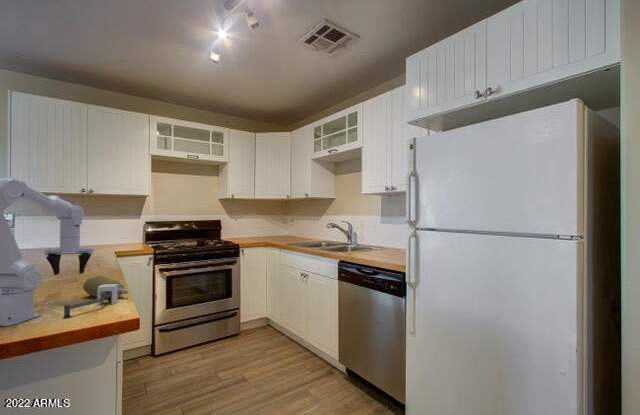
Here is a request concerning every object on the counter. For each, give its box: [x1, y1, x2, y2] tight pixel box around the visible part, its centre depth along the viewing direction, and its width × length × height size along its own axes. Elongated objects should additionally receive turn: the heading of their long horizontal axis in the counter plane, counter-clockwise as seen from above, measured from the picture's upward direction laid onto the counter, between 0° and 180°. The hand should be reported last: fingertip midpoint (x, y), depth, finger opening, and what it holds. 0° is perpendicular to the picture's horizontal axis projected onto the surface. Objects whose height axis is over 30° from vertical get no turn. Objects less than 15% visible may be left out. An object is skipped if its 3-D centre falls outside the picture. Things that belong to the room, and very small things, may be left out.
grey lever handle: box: [62, 291, 112, 319], centre depth 106 cm, size 20×6×4 cm, turn 171°
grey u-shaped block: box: [96, 284, 119, 306], centre depth 112 cm, size 4×5×6 cm
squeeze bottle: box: [82, 275, 129, 299], centre depth 119 cm, size 8×8×18 cm
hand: (69, 273), depth 113 cm, fingers open, 7 cm apart
